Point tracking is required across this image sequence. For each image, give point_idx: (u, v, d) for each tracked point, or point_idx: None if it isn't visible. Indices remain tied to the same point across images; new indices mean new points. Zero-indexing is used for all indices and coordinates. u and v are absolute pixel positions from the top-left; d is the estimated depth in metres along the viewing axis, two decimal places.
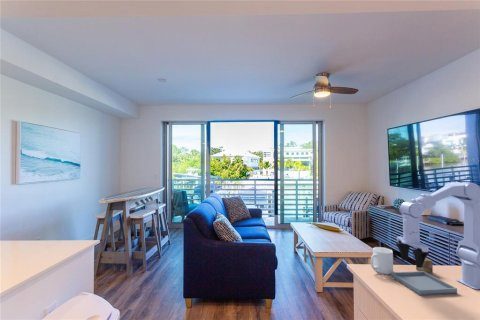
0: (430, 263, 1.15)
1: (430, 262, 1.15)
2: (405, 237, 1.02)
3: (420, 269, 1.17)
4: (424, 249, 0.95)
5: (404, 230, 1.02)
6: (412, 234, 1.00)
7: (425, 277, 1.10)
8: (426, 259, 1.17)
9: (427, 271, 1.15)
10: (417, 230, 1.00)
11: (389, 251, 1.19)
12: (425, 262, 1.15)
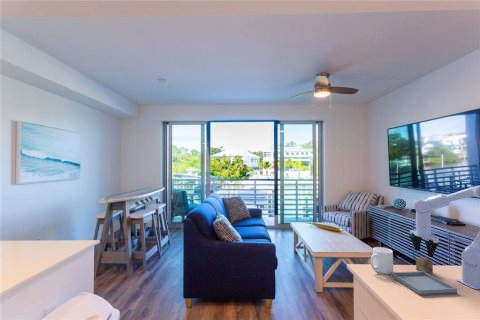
0: (430, 263, 1.15)
1: (430, 262, 1.15)
2: (418, 230, 1.17)
3: (420, 269, 1.17)
4: (435, 240, 1.10)
5: (417, 224, 1.18)
6: (424, 228, 1.15)
7: (425, 277, 1.10)
8: (426, 259, 1.17)
9: (427, 271, 1.15)
10: (422, 224, 1.16)
11: (389, 251, 1.19)
12: (425, 262, 1.15)
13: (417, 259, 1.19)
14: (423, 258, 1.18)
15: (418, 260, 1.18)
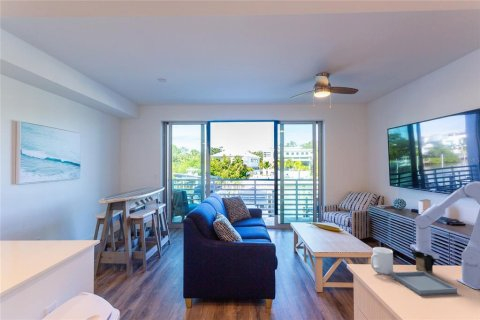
0: None
1: None
2: (418, 245, 1.17)
3: (420, 269, 1.17)
4: (435, 256, 1.10)
5: (417, 239, 1.18)
6: (424, 243, 1.15)
7: (425, 277, 1.10)
8: None
9: (427, 271, 1.15)
10: (423, 239, 1.16)
11: (389, 251, 1.19)
12: None
13: (417, 259, 1.19)
14: (423, 258, 1.18)
15: (418, 260, 1.18)
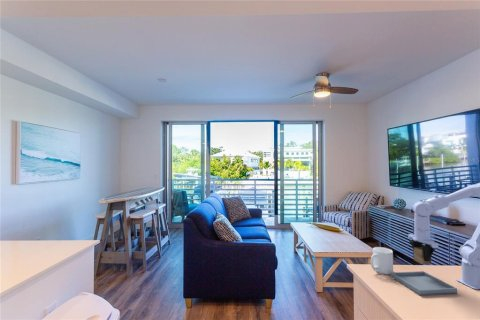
0: None
1: None
2: (416, 235, 1.11)
3: (418, 259, 1.11)
4: (434, 245, 1.04)
5: (415, 228, 1.12)
6: (423, 232, 1.09)
7: (425, 277, 1.10)
8: None
9: (425, 261, 1.09)
10: (425, 228, 1.09)
11: (389, 251, 1.19)
12: None
13: (415, 249, 1.13)
14: (421, 248, 1.12)
15: (416, 250, 1.12)
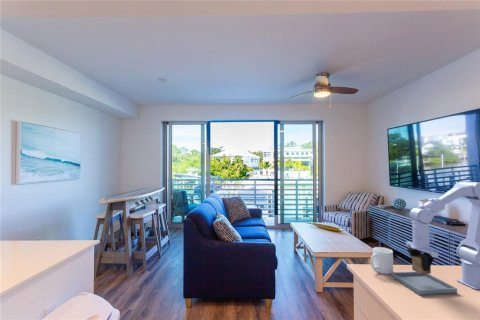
0: None
1: None
2: (415, 242, 1.04)
3: (417, 269, 1.04)
4: (434, 254, 0.97)
5: (414, 236, 1.05)
6: (422, 240, 1.02)
7: (425, 277, 1.10)
8: None
9: (424, 271, 1.02)
10: (426, 236, 1.02)
11: (389, 251, 1.19)
12: None
13: (413, 257, 1.06)
14: (420, 256, 1.05)
15: (414, 259, 1.05)
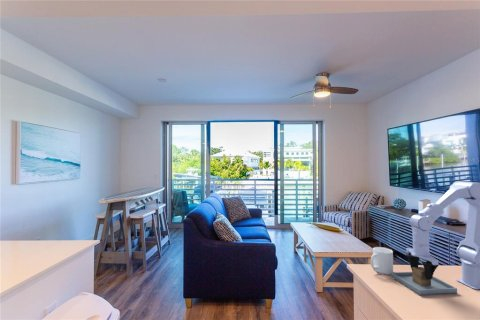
0: None
1: None
2: (415, 250, 1.04)
3: (417, 280, 1.04)
4: (434, 262, 0.97)
5: (414, 243, 1.05)
6: (422, 247, 1.02)
7: None
8: None
9: (425, 283, 1.02)
10: (426, 243, 1.02)
11: (389, 251, 1.19)
12: (423, 272, 1.02)
13: (414, 269, 1.06)
14: (420, 268, 1.05)
15: (415, 270, 1.05)
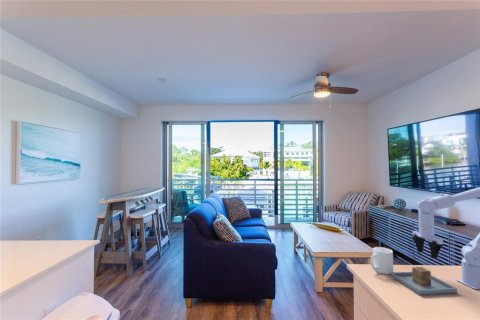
0: (428, 274, 1.02)
1: (428, 273, 1.02)
2: (421, 231, 1.13)
3: (417, 280, 1.04)
4: (439, 242, 1.06)
5: (420, 225, 1.14)
6: (427, 228, 1.11)
7: None
8: (424, 269, 1.04)
9: (425, 283, 1.02)
10: (427, 225, 1.11)
11: (389, 251, 1.19)
12: (423, 272, 1.02)
13: (414, 269, 1.06)
14: (420, 268, 1.05)
15: (415, 270, 1.05)
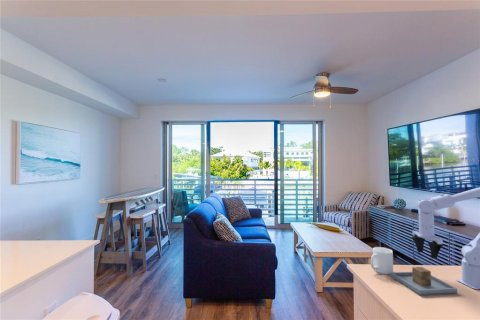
0: (428, 274, 1.02)
1: (428, 273, 1.02)
2: (421, 231, 1.13)
3: (417, 280, 1.04)
4: (439, 242, 1.06)
5: (420, 225, 1.14)
6: (427, 228, 1.11)
7: None
8: (424, 269, 1.04)
9: (425, 283, 1.02)
10: (427, 225, 1.11)
11: (389, 251, 1.19)
12: (423, 272, 1.02)
13: (414, 269, 1.06)
14: (420, 268, 1.05)
15: (415, 270, 1.05)
